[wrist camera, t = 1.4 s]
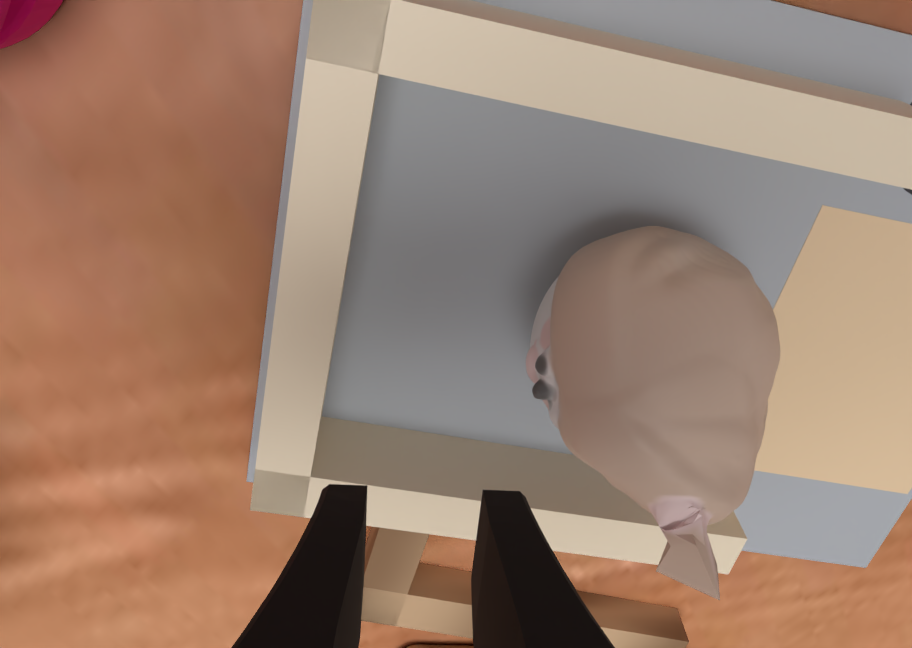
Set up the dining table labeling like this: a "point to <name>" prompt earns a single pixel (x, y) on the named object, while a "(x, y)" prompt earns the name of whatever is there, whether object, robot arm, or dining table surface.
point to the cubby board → (564, 233)
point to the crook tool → (450, 604)
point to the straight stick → (440, 646)
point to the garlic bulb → (660, 379)
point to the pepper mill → (24, 18)
